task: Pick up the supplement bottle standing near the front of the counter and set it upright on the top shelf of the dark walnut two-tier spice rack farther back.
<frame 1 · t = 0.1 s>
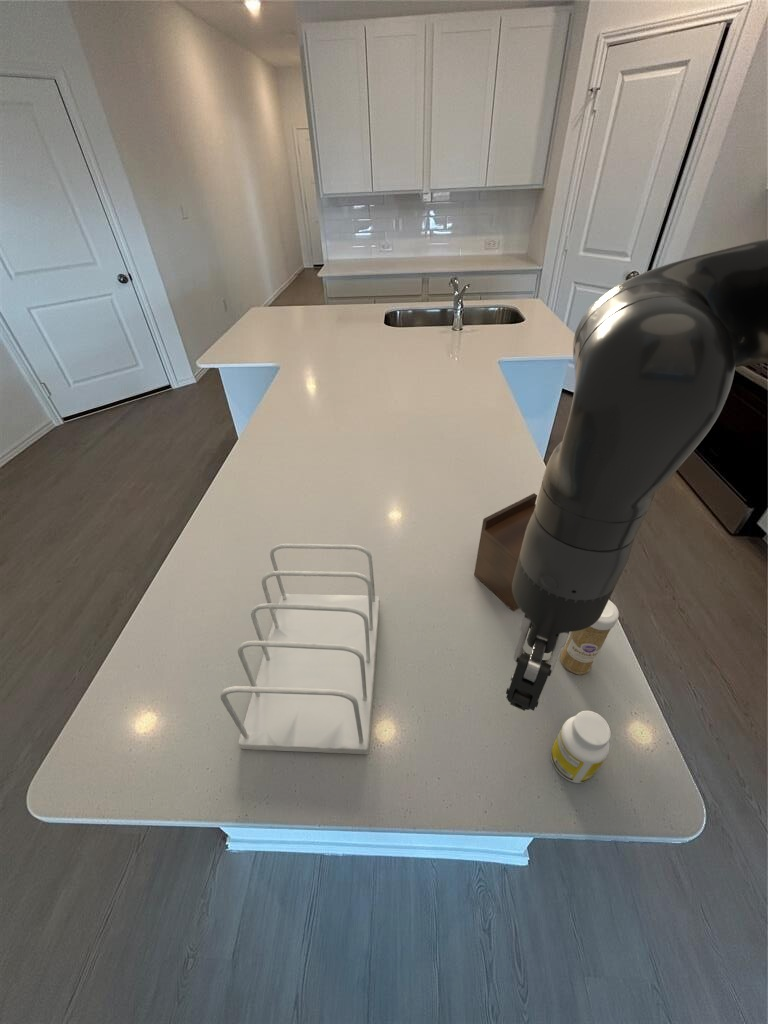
hand: (529, 667, 46), 20 cm above the counter, tool pointing down, fingers open, 8 cm apart
spice rack: (516, 578, 81), on the counter
sprinkles bottle: (574, 662, 68), on the counter
file sorter: (319, 667, 68), on the counter
supplement bottle: (570, 761, 57), on the counter
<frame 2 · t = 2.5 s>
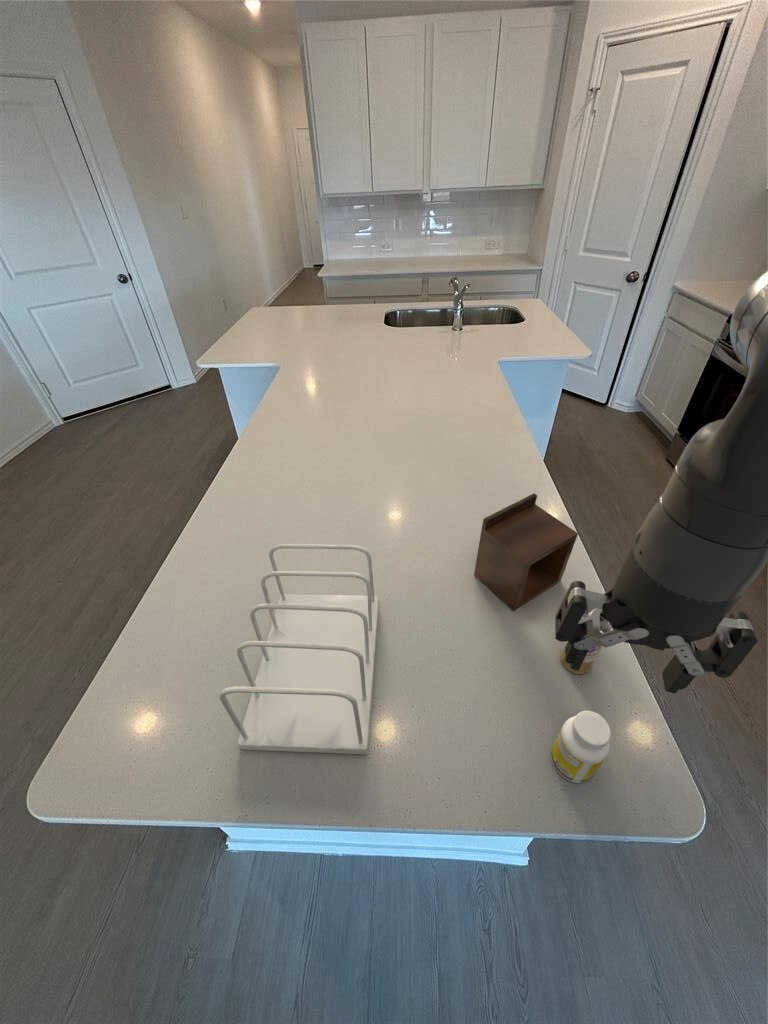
hand: (619, 672, 43), 22 cm above the counter, tool pointing down, fingers open, 8 cm apart
nothing on the counter moved.
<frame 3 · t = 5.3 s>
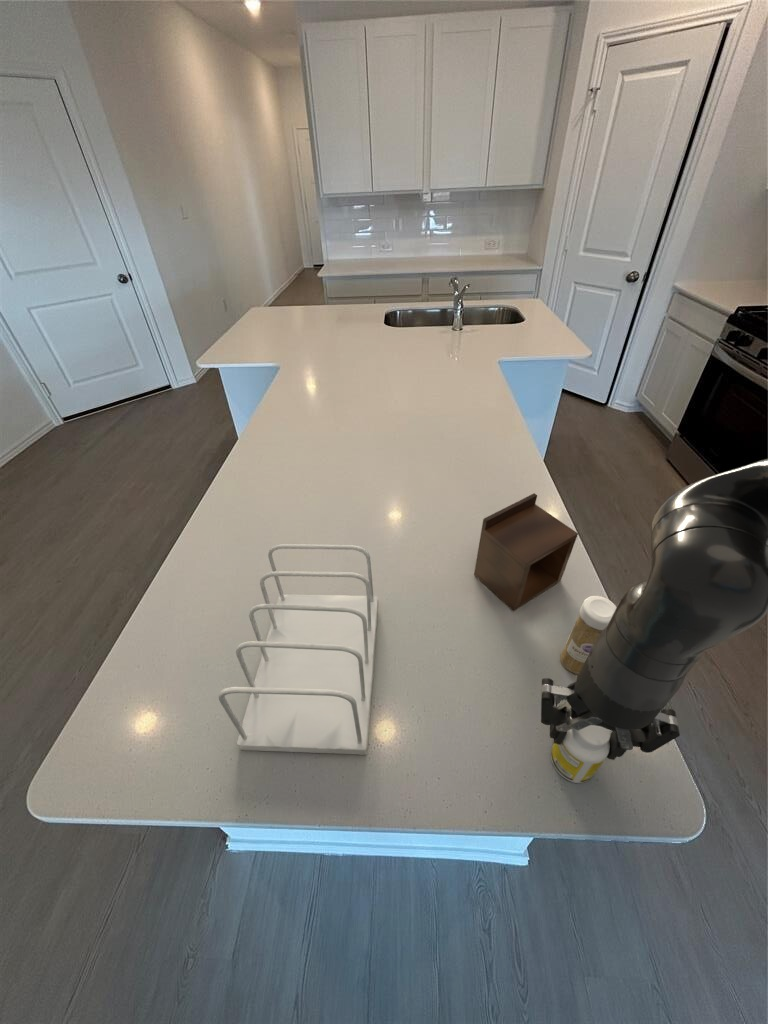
hand: (582, 743, 53), 5 cm above the counter, tool pointing down, fingers closed on supplement bottle, 5 cm apart
supplement bottle: (571, 761, 57), on the counter, touching gripper
everything else where it was.
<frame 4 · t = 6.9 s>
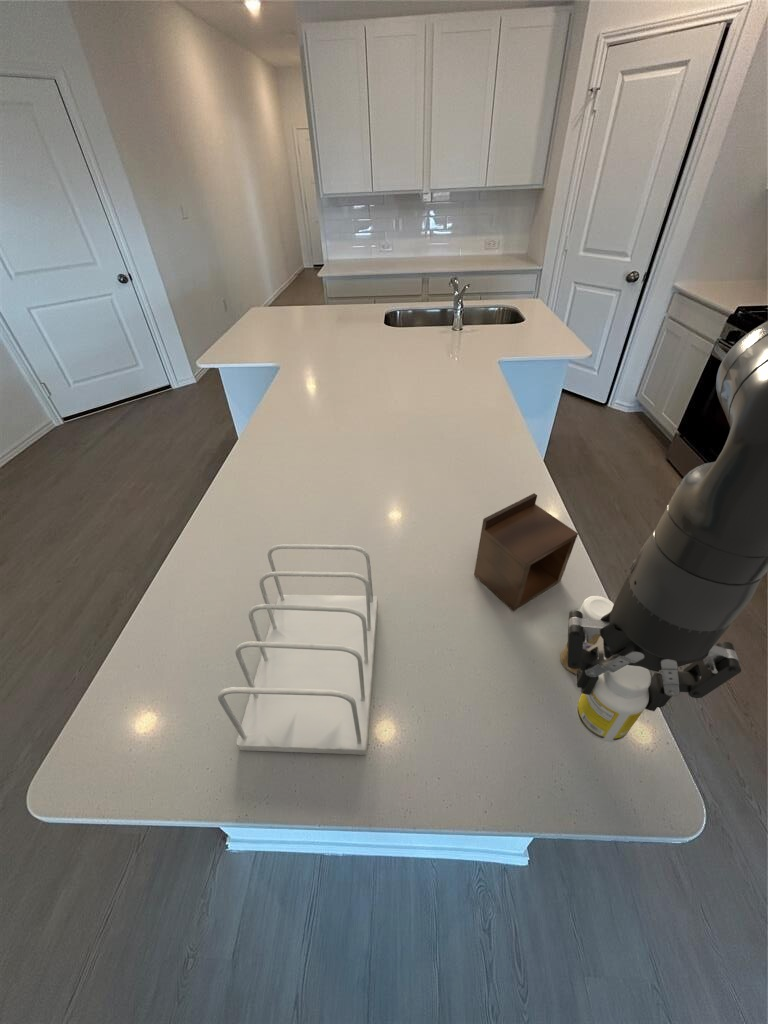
hand: (616, 693, 45), 18 cm above the counter, tool pointing down, fingers closed on supplement bottle, 5 cm apart
supplement bottle: (600, 718, 49), point 12 cm above the counter, touching gripper
everything else where it was.
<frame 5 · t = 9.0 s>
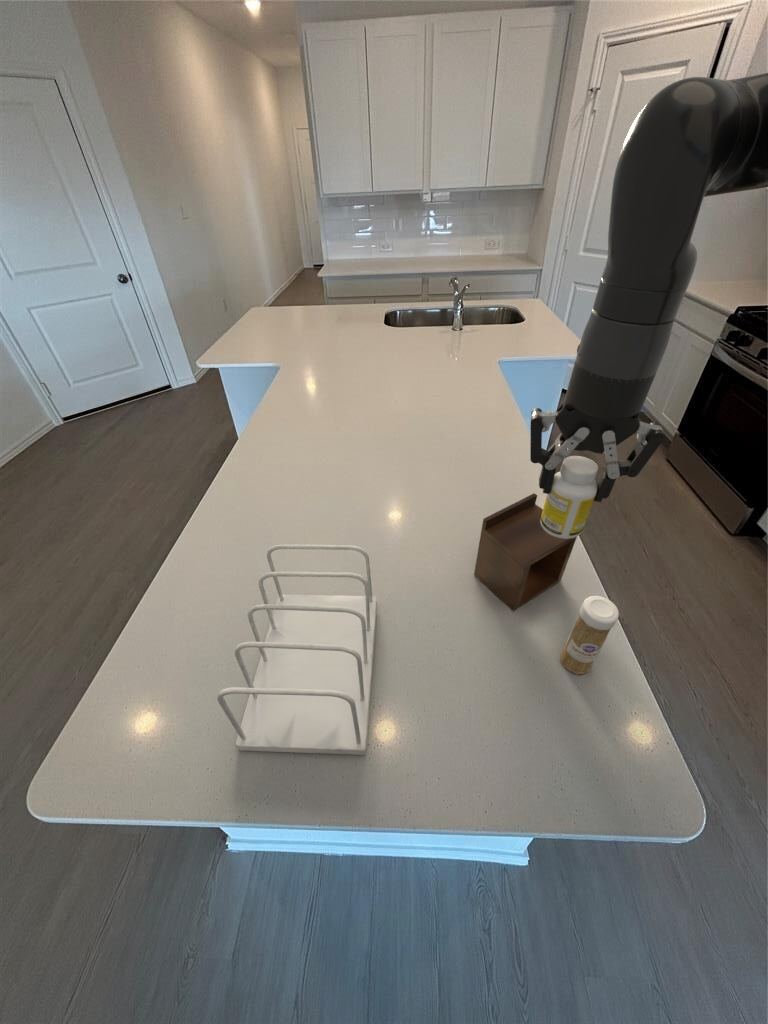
hand: (571, 493, 55), 28 cm above the counter, tool pointing down, fingers closed on supplement bottle, 5 cm apart
supplement bottle: (559, 527, 58), point 22 cm above the counter, touching gripper
everything else where it was.
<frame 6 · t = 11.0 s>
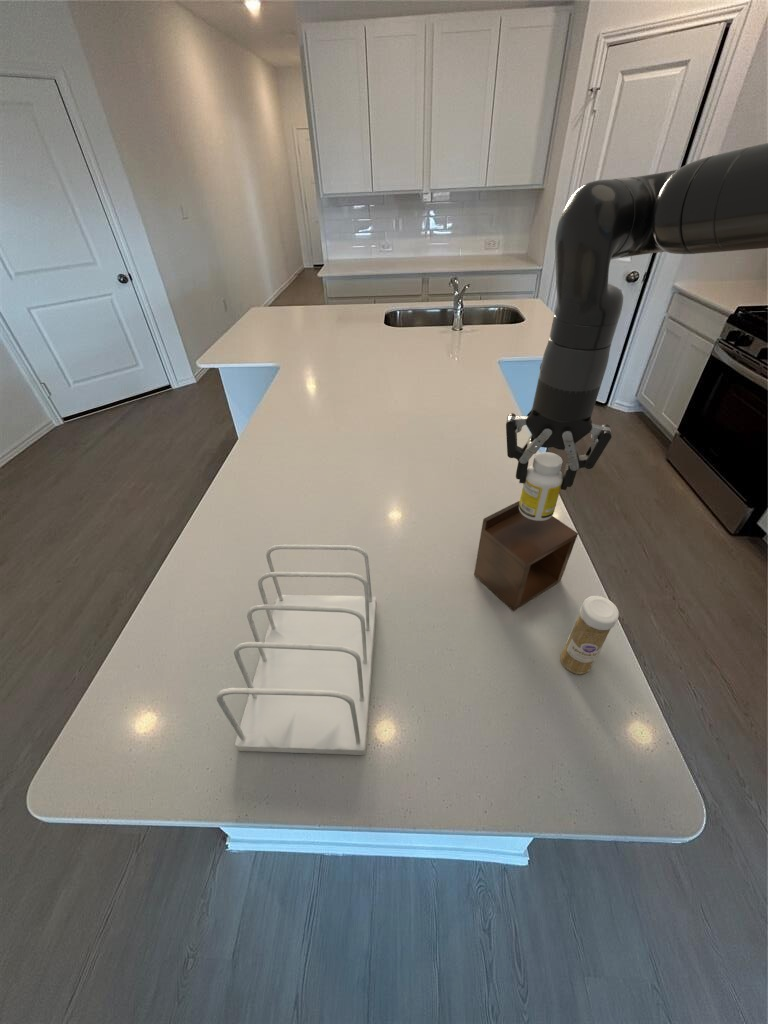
hand: (542, 483, 66), 22 cm above the counter, tool pointing down, fingers closed on supplement bottle, 5 cm apart
supplement bottle: (535, 511, 70), point 16 cm above the counter, touching gripper
everything else where it was.
when the fingers open (17 cm above the counter, at t = 12.7 s): supplement bottle stays where it is, resting on spice rack.
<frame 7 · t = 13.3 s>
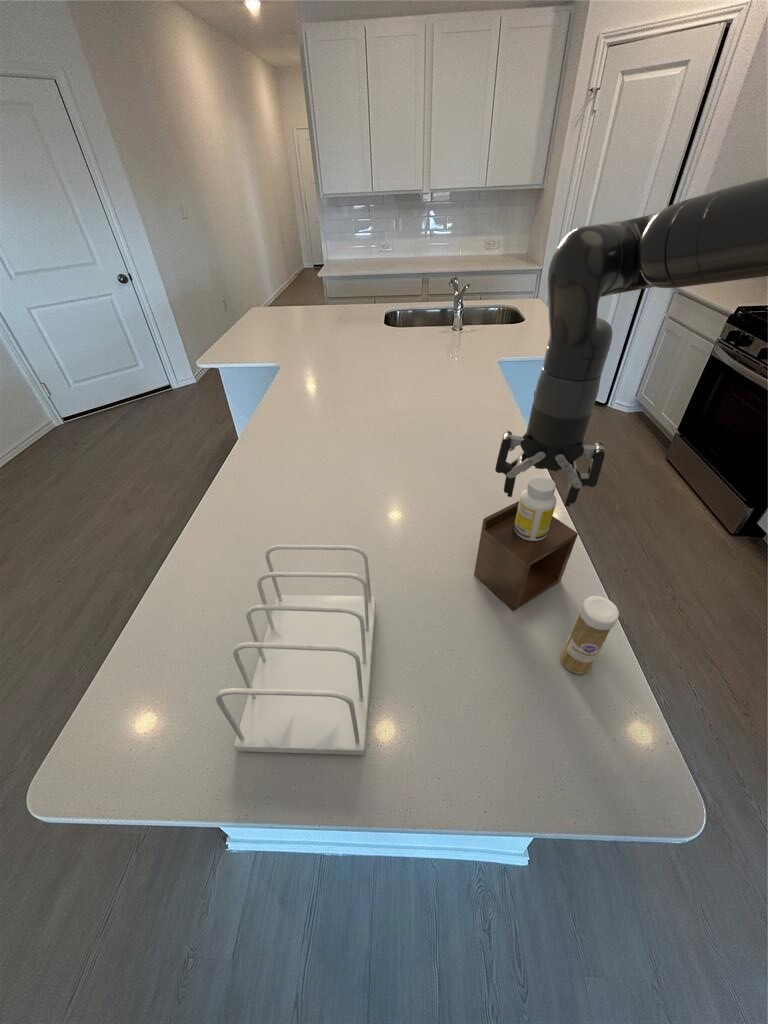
hand: (537, 498, 68), 19 cm above the counter, tool pointing down, fingers open, 8 cm apart
supplement bottle: (529, 531, 73), point 12 cm above the counter, touching spice rack
everything else where it was.
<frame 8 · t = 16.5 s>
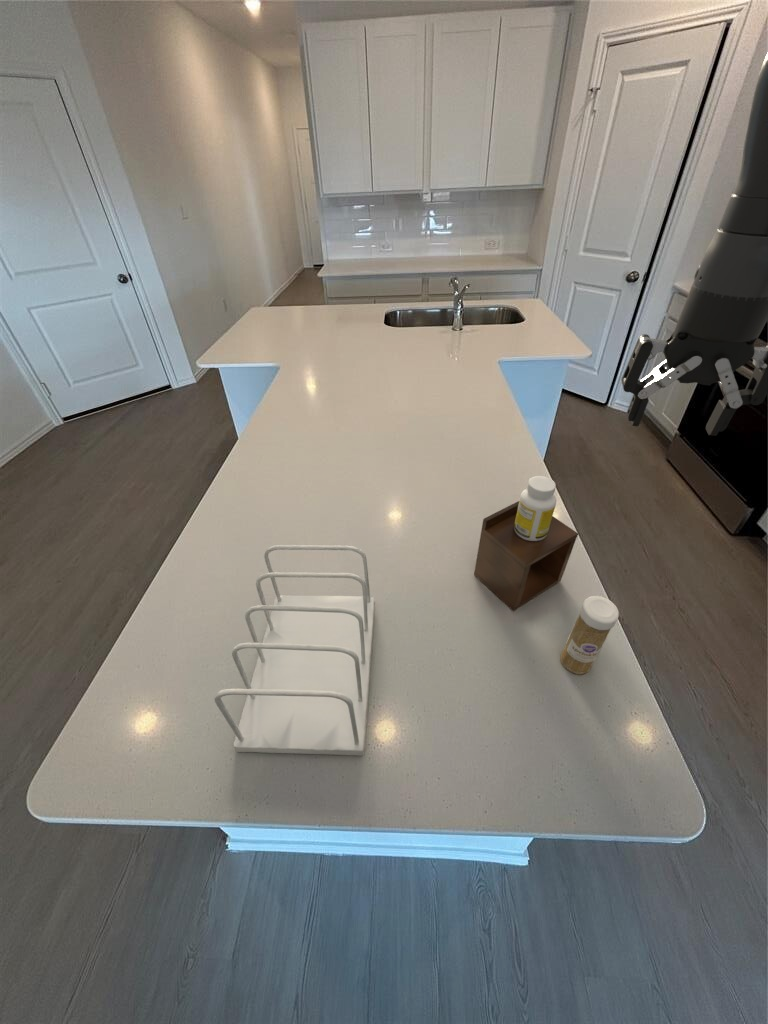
hand: (671, 427, 54), 34 cm above the counter, tool pointing down, fingers open, 8 cm apart
nothing on the counter moved.
at the end: supplement bottle inside the target area on the spice rack (0.1 cm from its centre), point 11.8 cm above the spice rack's base; supplement bottle tilted 0° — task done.
